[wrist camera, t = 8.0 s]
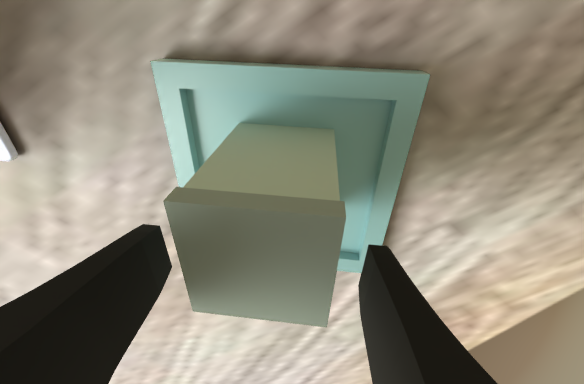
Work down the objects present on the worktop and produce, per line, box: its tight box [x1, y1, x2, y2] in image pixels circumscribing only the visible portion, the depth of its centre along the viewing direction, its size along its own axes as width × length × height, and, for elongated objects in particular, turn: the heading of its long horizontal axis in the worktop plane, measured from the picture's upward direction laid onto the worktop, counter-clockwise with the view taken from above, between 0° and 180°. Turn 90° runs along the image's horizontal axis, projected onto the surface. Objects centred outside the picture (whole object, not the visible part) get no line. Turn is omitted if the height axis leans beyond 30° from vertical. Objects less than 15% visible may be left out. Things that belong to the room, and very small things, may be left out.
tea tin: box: [163, 123, 346, 327], centre depth 11 cm, size 5×5×7 cm
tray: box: [150, 58, 430, 273], centre depth 14 cm, size 11×11×1 cm
